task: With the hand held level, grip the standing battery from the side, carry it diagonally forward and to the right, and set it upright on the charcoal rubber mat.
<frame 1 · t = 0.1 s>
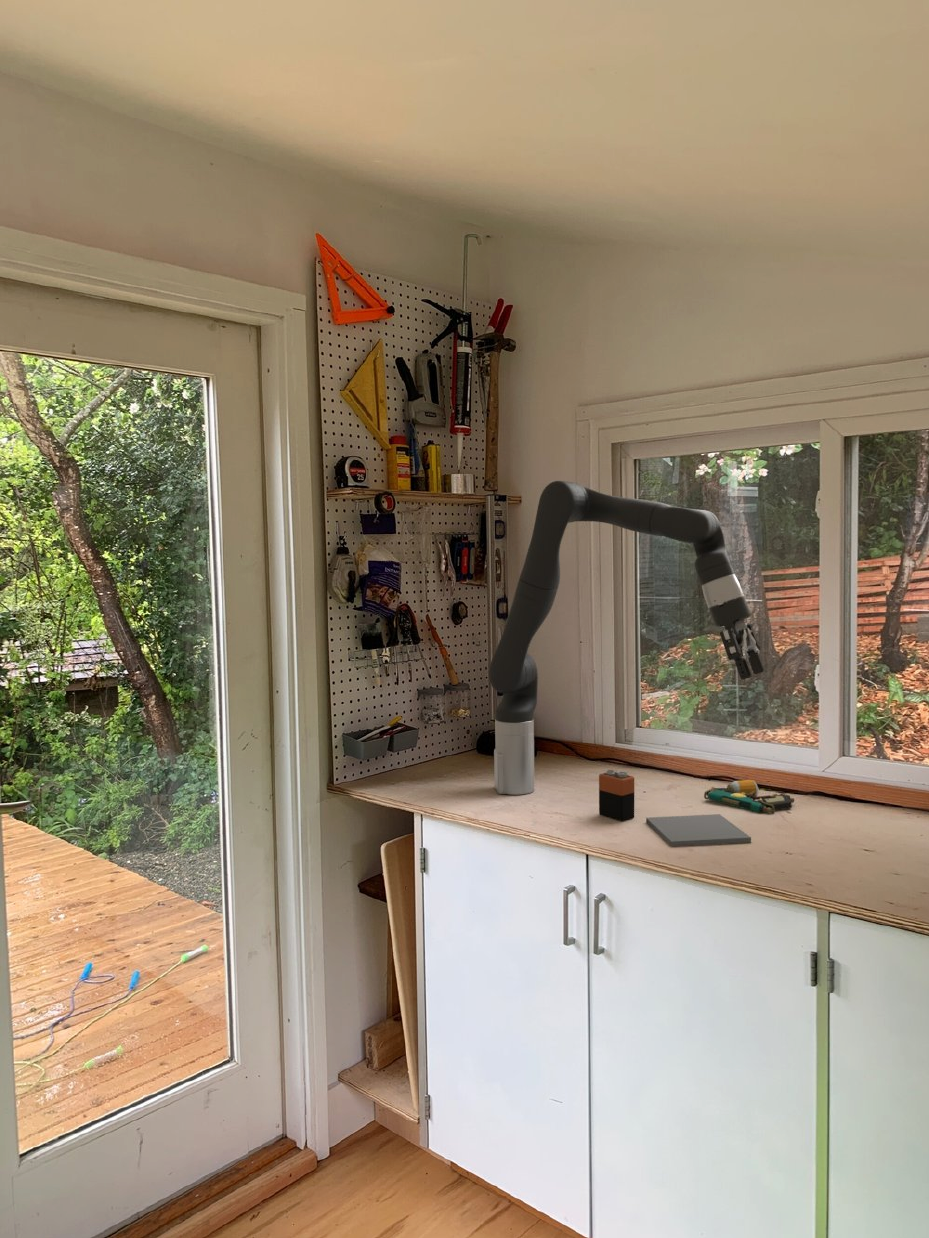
hand: (753, 675, 186), 31 cm above the worktop, fingers open, 8 cm apart
mat: (696, 831, 186), on the worktop
battery: (616, 817, 197), on the worktop
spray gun: (749, 806, 206), on the worktop
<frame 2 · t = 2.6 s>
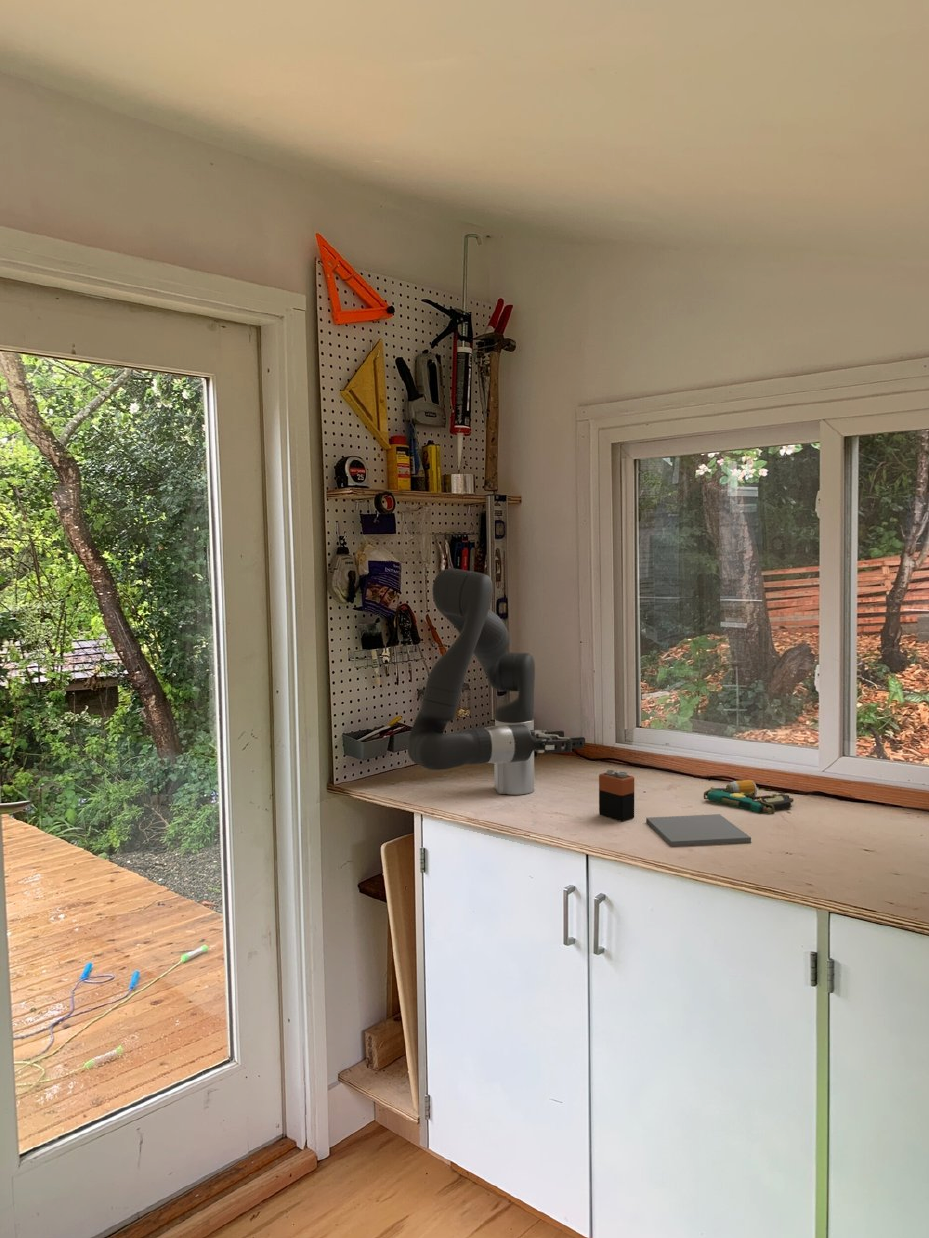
hand: (573, 738, 192), 18 cm above the worktop, fingers open, 8 cm apart
nothing on the worktop moved.
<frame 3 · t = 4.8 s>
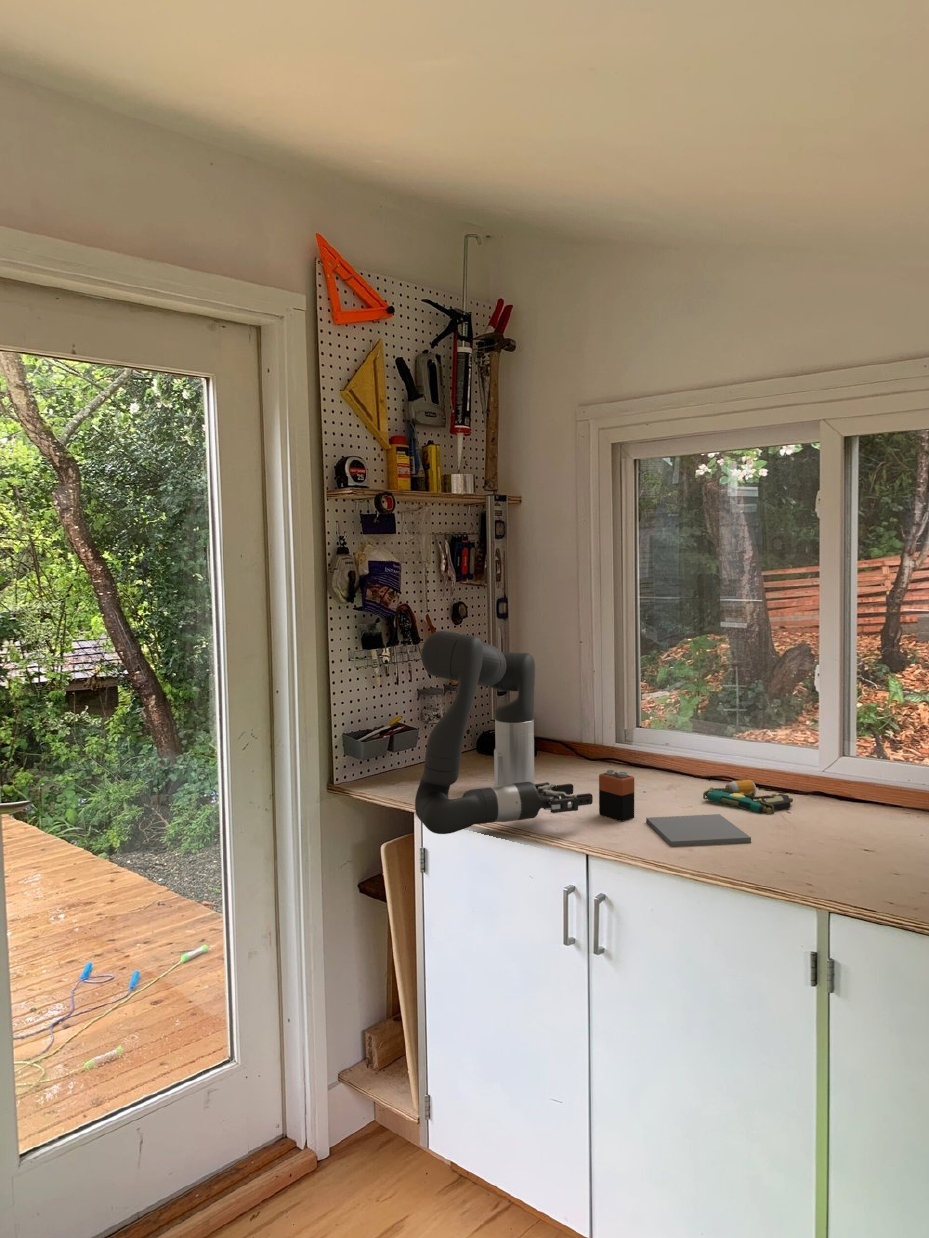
hand: (581, 793, 194), 6 cm above the worktop, fingers open, 8 cm apart
nothing on the worktop moved.
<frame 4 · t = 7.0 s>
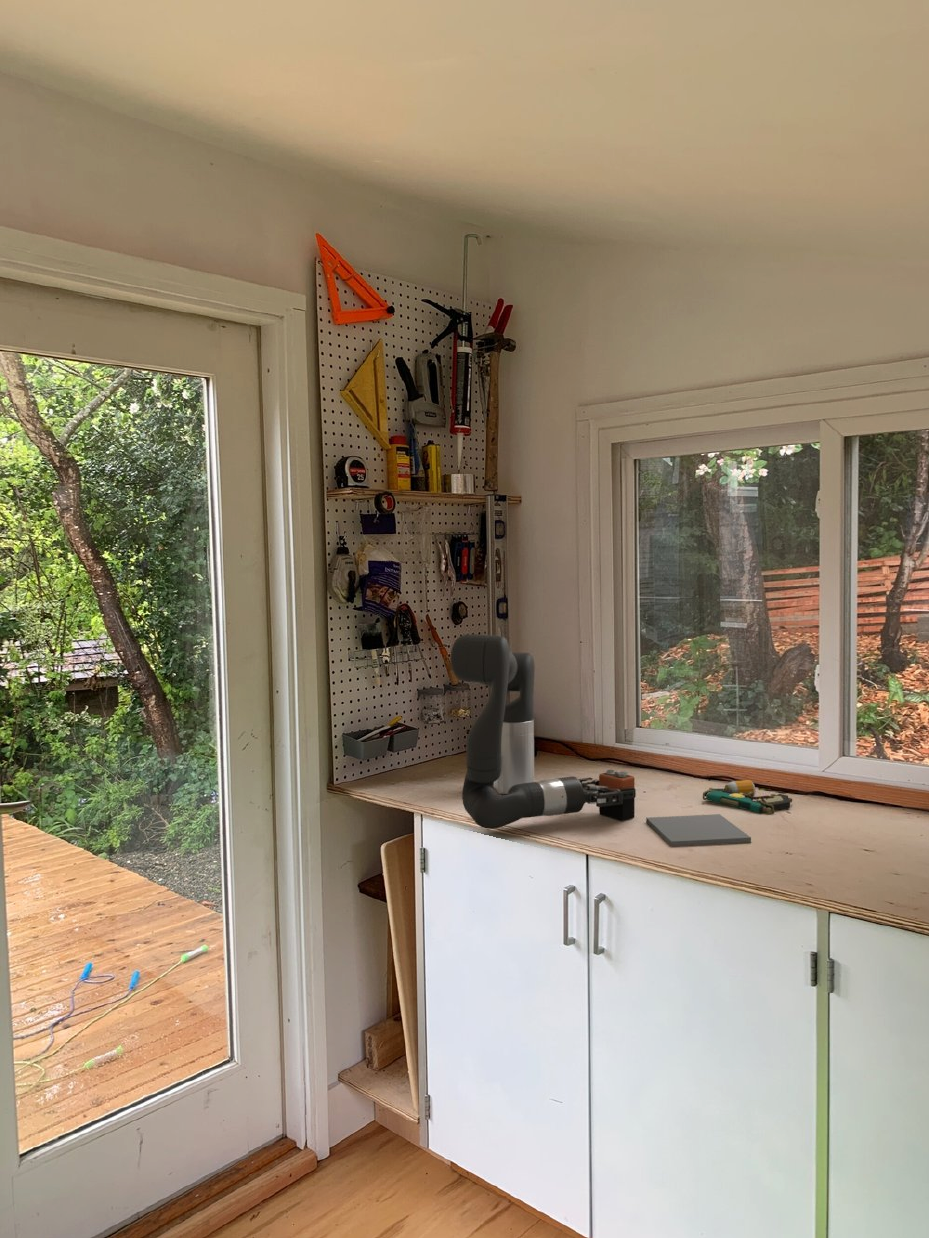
hand: (624, 787, 198), 6 cm above the worktop, fingers closed on battery, 7 cm apart
battery: (616, 817, 197), on the worktop, touching gripper
everything else where it was.
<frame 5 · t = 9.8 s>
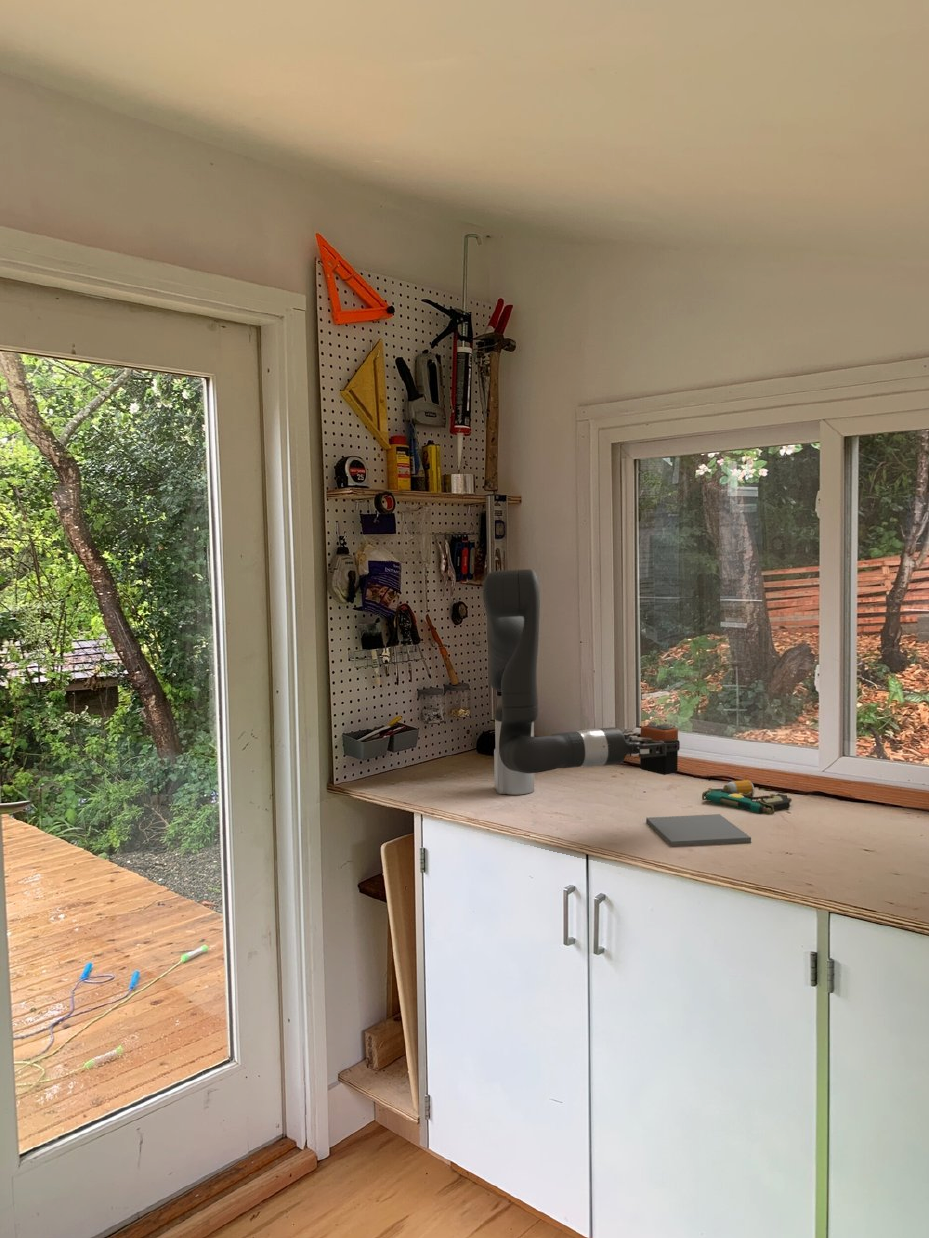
hand: (667, 741, 190), 18 cm above the worktop, fingers closed on battery, 7 cm apart
battery: (658, 771, 189), point 11 cm above the worktop, touching gripper
everything else where it was.
when the fingers open (8 cm above the worktop, at t = 12.8 s): battery moves 1 cm, resting on mat.
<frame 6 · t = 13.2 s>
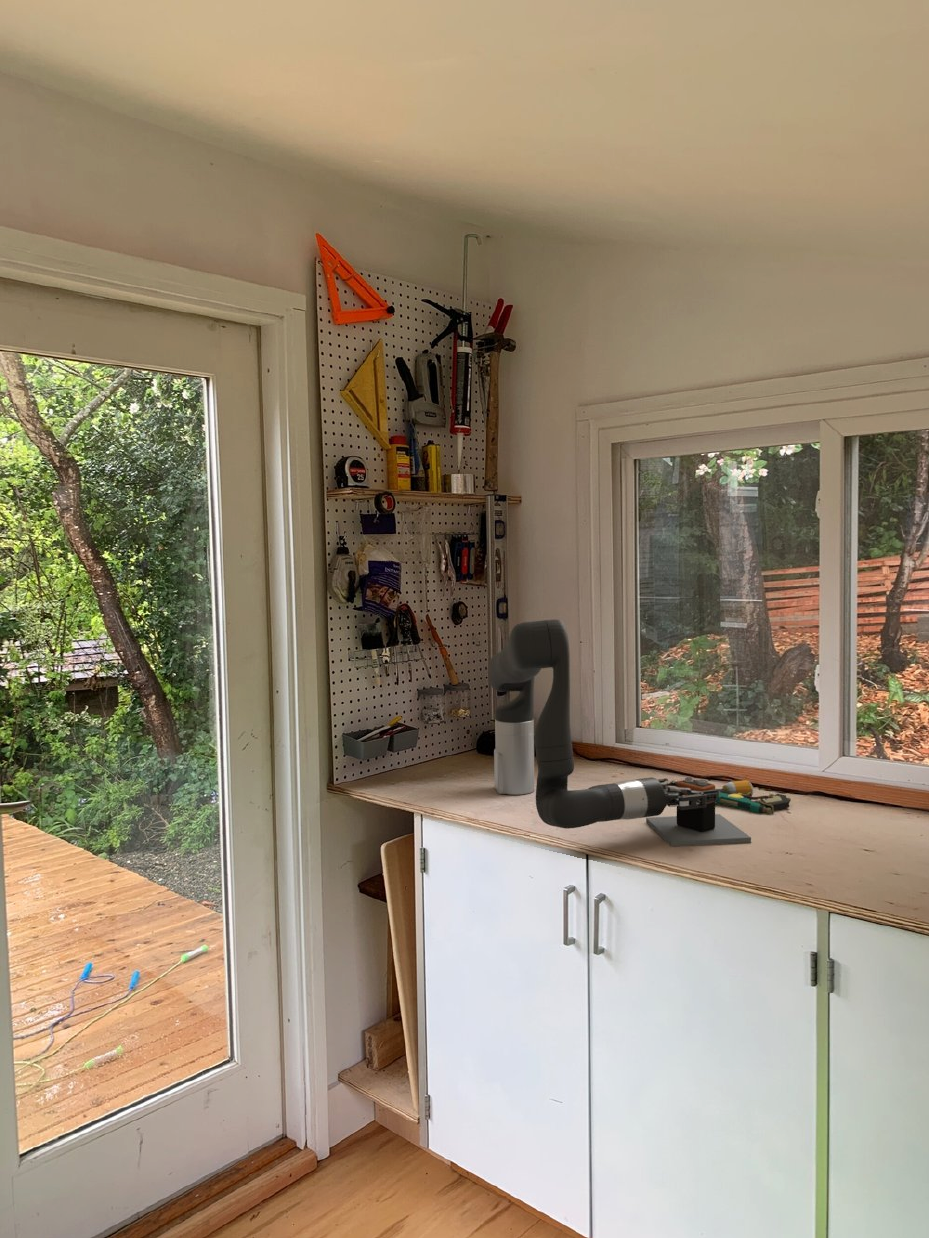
hand: (704, 789, 186), 8 cm above the worktop, fingers open, 8 cm apart
battery: (695, 828, 186), point 1 cm above the worktop, touching mat
everything else where it was.
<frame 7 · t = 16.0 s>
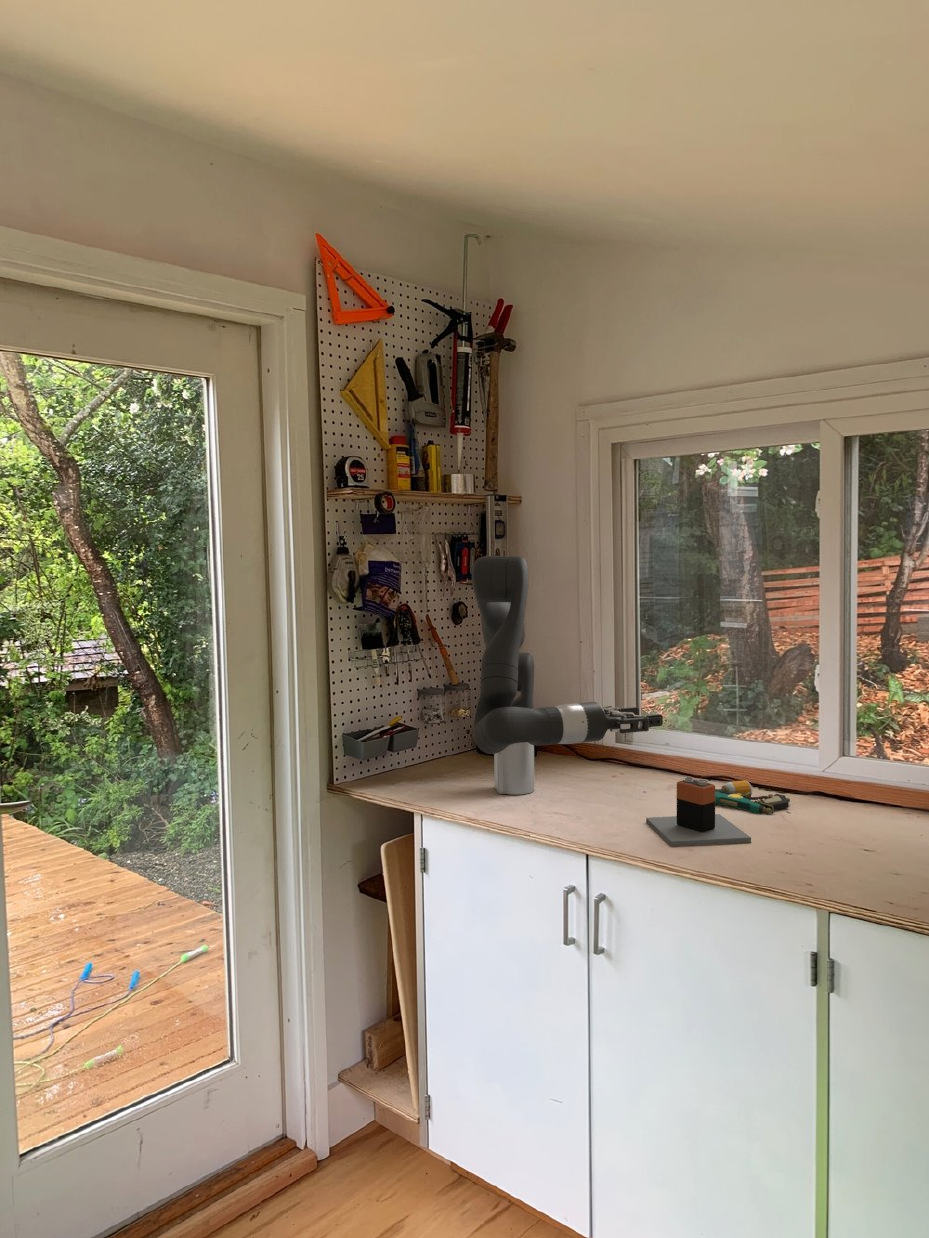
hand: (649, 716, 180), 25 cm above the worktop, fingers open, 8 cm apart
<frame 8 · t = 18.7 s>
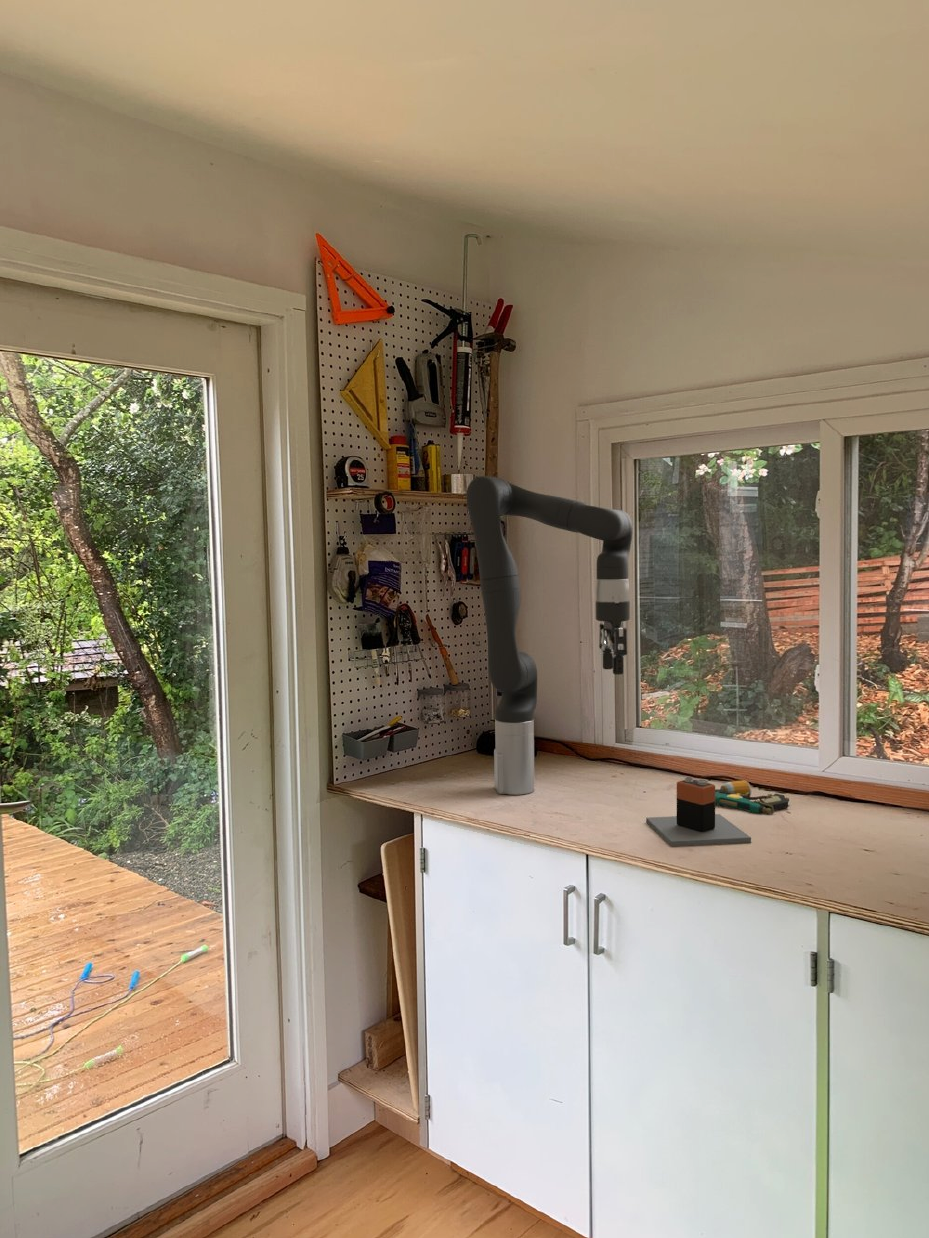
hand: (612, 671, 205), 30 cm above the worktop, fingers open, 8 cm apart
at the end: battery inside the target area on the mat (0.2 cm from its centre), point 0.8 cm above the mat's base; battery tilted 0°; the gripper is holding nothing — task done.
